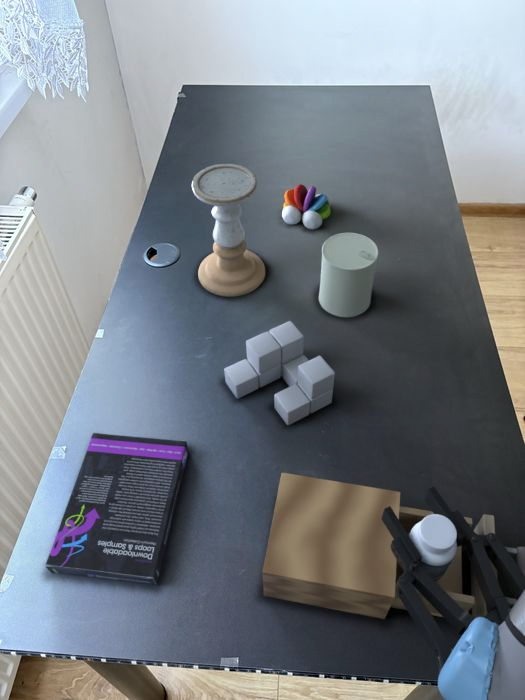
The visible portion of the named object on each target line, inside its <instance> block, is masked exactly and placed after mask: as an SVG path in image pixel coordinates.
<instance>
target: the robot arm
mask: <svg viewBox="0 0 525 700" xmlns="http://www.w3.org/2000/svg"><path fill="white" fill-rule="evenodd" d="M426 491H427V492H426V493H425V496H424V498H423V499H424V501H425V502H426V504H427V506H428V508H429V509H430V510H431V511H432V512H433V513H434V514H438V515H442V516H444V517H446V518H448V519H449V520H450V521H451V522H452V523H453V524H454V526H455V528H456V532H457V538H456V541H457V547H459V546H461V547H462V545H464V546H463V547H462V551H463V552H465V553H466V555H467V558H468V560H469V564H470V567H471V566H472V569H473V571H474V574H475V576H476V579H477V582H478V584H479V587H480V590H481V592H482V595H483V598H484V600H485V603H486V610H487V613H488V615H487V616H485V617H477V618H476V619H475V618H474V617H473V616H472V613H470V612H469V611H468V612H465V611H464V610H463V609H462V608H461V607H460V606H459V605H458V604H457V603H456V602H455V601H454V600H453V599H452V598H451V597H450V596H449V595H448V594H447V593H446V592H445V591H444V590H443V589H442V588H441V587H440V586H439V585H438V584H437V583H436V582H435V581H434V580H433V579H432V578H431V577H430V576H429V575H428V574H427V573H426V572H425V571H424V570H423V569H422V568H421V567H420V566H419V564H420V561H421V559H422V556H421V555H420V553H419V551H418V550H417V548H416V547H415V545H414V543H413V542H412V540H411V539H410V537H409V535H408V534H407V532H406V531H405V529H404V527H403V526H402V524H401V523H400V521H399V519H398V518H397V516H396V515H395V513H394V511H393V510H392V508H391V507H390V506H389V507H387V508H385V509H384V512H383V515H382V518H381V519H382V521H383V522H384V524H385V526H386V527H387V529H388V531H389V532H390V534H391V535H392V537H393V539H394V540H392V542H391V545H390V546H391V551H392V552H393V554H394V556H395V557H396V559H397V561H398V562H399V564H400V566H401V567H402V569H403V572H404V573H403V575H402V576H400V577H399V579H398V581H397V584H396V586H395V590H396V592H397V594H398V596H399V597H400V599H401V601H402V602H403V604H404V606H405V607H406V609H407V610H406V611H407V613H408V614H409V616H410V617H411V619H412V621H413V623H414V624H415V625H416V627H417V629H418V631H419V632H420V634H421V635H422V638H423V639H424V640H425V642H426V644H427V646H428V647H429V648H430V650H431V652H432V654H433V657H434V660H435V665H436V669H437V673H438V678H437V687H438V691H439V693H440V695H441V696H442V698H443V699H444V700H525V575H524V574H523V573H522V571H521V570H520V568H519V567H518V565H517V561H515V559H514V558H513V557H512V556H511V555H512V554H509V552H508V551H507V549H506V548H505V547H506V546H505V545H504V544H503V542H502V540H501V539H500V538H499V536H498V535H497V534H496V533H495V534H494V533H489V534H488V535H478V534H476V533H475V532H474V529H472V526H471V527H470V526H469V524H468V523H467V521H466V520H465V518H464V517H465V516H464V515H463V514H462V513H461V512H460V511H459V510H457V509H456V510H454V511H452V510H451V509H450V507H449V505H448V504H447V503H446V501H445V500H444V498H443V497H442V496H441V494H440V493H439V492H438V490H437V489H436V487H435V486H432V487H429V488H428V489H427V490H426ZM489 559H490V561H491V562H492V564H493V565H494V567H495V568H496V570H497V574H498V575H499V576H500V577H501V579H502V580H503V582H504V584H505V585H506V586H507V588H508V590H509V591H510V592H511V594H512V595H513V597H514V599H516V600H517V602H516V603H515V605H512V608H511V605H509V603H508V600H507V598H506V597H507V596H506V595H504V594H503V593H504V592H503V591H502V588H501V586H500V583H499V581H497V579H498V577H497V578H496V576H495V573H494V571H493V568H492V566H491V563H490V561H489ZM414 587H415V588H416V589H417V590H418V591H419V592H420V593H421V594H422V595H423V596H424V598H425V599H426V600H427V601H428V602H429V603H430V604H431V605H432V606H433V607H434V608H435V609H436V610H437V611H438V612H439V613H440V614H441V615H442V616H443V617H442V618H443V619H444V620H445V621H446V622H447V623H448V624H449V625H450V626H451V627H452V630H453V631H454V632H455V633H456V634H457V636H458V637H460V638H459V640H458V641H457V643H456V644H455V645H454V647H453V648H452V647H451V645H450V643H449V641H448V639H447V637H446V636H445V634H444V632H443V631H442V629H441V628H440V626H439V625H438V622H437V621H436V619H435V618H434V615H431V613H430V612H429V610H428V608H427V607H426V605H425V604H424V602H423V600H422V599H421V597H420V596H419V594H418V592H417V591H416V589H415V588H414Z"/></svg>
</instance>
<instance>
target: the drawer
mask: <svg viewBox="0 0 525 700" xmlns="http://www.w3.org/2000/svg"><path fill="white" fill-rule="evenodd" d="M432 514H434V513H433V512H432V510H431V511H430V510H427V509H419V508H414V507H409V506H408V507H407V506H403V505H402V506H401V505H400V510H399V521H400V523H401V524H402V526H403V527H404V529H405V531H406V532H407V534H408V535H409V534H410V532H411V530H412V528H413V527H414V526H415V525H416V524H417V523H419V522H420V521H422V520H423V519H424V518H425V517H426V516H428V515H432ZM463 517H464V518H465V520H466V521H467V523H468V524H469V526H470V527H471V528H472V525H473V518H472V517H466V516H463ZM473 531H474V532H475V533H476V534H478V535H488V534H489V533H494V534H496V526H495V515H492V514H486V513H484V514H483V515H482V516H481V518H480V520H479V521H478V523H477V524H476V526H475V528H474V529H473ZM504 547H505V548H506V549H507V551H508V552H509V554H510V555H514V556H516V564H517V565H518V567H519V568H520V570H521V571H522V573H523V574H524V575H525V546H517V547H516V548H514V547H509V546H504ZM462 551H463V547H462V545H461V546H459V547H457V551H456V554H455V556H454V558H453V560H452V562H451V563H450V565H449V567H448V568H447V570H446V572H445V573H444V575H443V576H442V577H441V579H439V580H438V581H436V583H437V584H438V585H439V586H440V587H441V588H442V589H443V590H444V591H445V592H446V593H447V594H448V595H449V596H450V597H451V598H452V599H453V600H454V601H455V602H456V603H457V604H458V605H459V606H460V607H461V608H462V609H463V610H464V611H465V612H468V613H469V612H470V611H471V615H472V616H473V617H474V618H475V619H476V618H477V617H485V616H487V615H488V613H487V610H486V603H485V600H484V598H483V595H482V592H481V590H480V587H479V584H478V582H477V579H476V576H475V574H474V571H473V569H472V566H471V565H470V593H471V594H470V595H468V594H463V557H462V556H463V555H462V553H463V552H462ZM489 561H490V559H489ZM490 563H491V566H492V568H493V571H494V573H495V576H496V578H497V581H498V571H497V570H496V568H495V567H494V565H493V564H492V562H491V561H490ZM403 573H404V572H403V569H402V567H401V566H400V564H399V562H398V561H397V568H396V584H397V581H398V579H399V577H400V576H402V575H403ZM498 582H499V581H498ZM414 588H415V587H414ZM415 589H416V588H415ZM416 591H417V592H418V594H419V596H420V597H421V599H422V600H423V602H424V604H425V605H426V607H427V608H428V610H429V612H430V613H431V615H432V616H435V617H436V616H437V617H441V618H444V617H443V616H442V615H441V614H440V613H439V612H438V611H437V610H436V609H435V608H434V607H433V606H432V605H431V604H430V603H429V602H428V601H427V600H426V599H425V598H424V596H423V595H422V594H421V593H420V592H419V591H418V590H417V589H416ZM505 597H506V598H507V600H508V603H509V605H510V606H514V605H515V603H516V602H517V600H516V598H513V597H507V596H505ZM390 608H394V609H400V610H404V611H407V609H406V607H405V606H404V604H403V602H402V601H401V599H400V597H399V596H398V594H397V592H396V590H395V598H394V600H393V602H392V604H391V607H390Z"/></svg>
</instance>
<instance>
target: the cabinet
mask: <svg viewBox="0 0 525 700" xmlns="http://www.w3.org/2000/svg"><path fill="white" fill-rule="evenodd" d="M389 506H390V507H391V508H392V510H393V511H394V513H395V515H396V516H397V518H398V519H399V510H400V506H401V491H395V490H392V489H391V490H390V489H385V488H379V487H372V486H367V485H361V484H353V483H349V482H348V483H347V482H341V481H336V480H330V479H324V478H317V477H312V476H307V475H306V476H305V475H300V474H294V473H287V472H281V476H280V478H279V485H278V490H277V495H276V501H275V505H274V510H273V516H272V522H271V526H270V530H269V531H270V532H269V537H268V542H267V547H266V552H265V557H264V562H263V568H262V587H263V596H264V597H269V598H274V599H279V600H284V601H289V602H294V603H299V604H304V605H310V606H315V607H320V608H325V609H330V610H335V611H340V612H345V613H351V614H355V615H361V616H366V617H372V618H377V619H381V620H385V619H386V617H387V615H388V613H389V611H390V609H391V608H392V607H391V604H392V602H393V600H394V598H395V586H396V568H397V559H396V557H395V556H394V554H393V552H392V551H391V546H390V545H391V542H392V540H394V539H393V537H392V535H391V534H390V532H389V531H388V529H387V527H386V526H385V524H384V522H383V521H382V519H381V518H382V515H383V512H384V509H385V508H387V507H389Z"/></svg>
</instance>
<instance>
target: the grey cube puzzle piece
mask: <svg viewBox="0 0 525 700" xmlns="http://www.w3.org/2000/svg"><path fill="white" fill-rule="evenodd" d="M304 340H305V336H304V335H303V333H302V332H301V331H300V330H299V329H298V327H296V325H295V324H294V323H293V322H292V321H291V320H288V321H286V322H284V323H282V324H280V325H277V326H276V327H273V328H271V329H269V331H265V332H262V333H260V334H258V335H256V336H253V337H251V338H249V339H246V341H245V345H246V347H245V349H246V357H247V358H244V359H242V360H240V361H237V362H236V363H234V364H232V365H230V366H226V367H225V368H224V369H223V372H224V380H225V384H226V385H227V387H228V388H229V390H230V391H231V392H232V394H233V395H234V397H235V398H236V399H241V398H242V397H245V396H246V395H249V394H250V393H252V392H254V391H257V390H258V389H259V388H263V387H265V386H266V385H269V384H271V383H272V382H275V381H277V380H279V379H280V378H283V380H284V381H285V383H286V384H287V386H288V387H286V388H284V389H283V390H280V391H278V392H276V393H275V394H274V395H273V396H274V399H273V400H274V401H273V402H274V409H275V411H276V412H277V413H278V414H279V416H280V417H281V419H282V420H283V421H284V422H285V424H286V425H287V426H290V425H293V424H294V423H295V422H297V421H300V420H302V419H304V418H305V417H307V416H309V415H310V414H313V413H315V412H317V411H319V410H320V409H323V408H325V407H326V406H328V405H330V404H332V401H333V393H334V385H335V378H336V377H335V376H336V372H335V371H334V370H333V368H332V367H331V366H330V365H329V364H328V363H327V361H326V360H325V359H324V358H323V357H322V356H321V355H318V356H315V357H313V358H312V359H308V358H307V357H306V355H304V342H305V341H304Z"/></svg>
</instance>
